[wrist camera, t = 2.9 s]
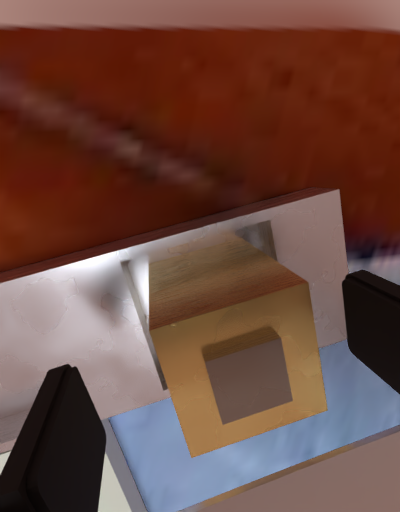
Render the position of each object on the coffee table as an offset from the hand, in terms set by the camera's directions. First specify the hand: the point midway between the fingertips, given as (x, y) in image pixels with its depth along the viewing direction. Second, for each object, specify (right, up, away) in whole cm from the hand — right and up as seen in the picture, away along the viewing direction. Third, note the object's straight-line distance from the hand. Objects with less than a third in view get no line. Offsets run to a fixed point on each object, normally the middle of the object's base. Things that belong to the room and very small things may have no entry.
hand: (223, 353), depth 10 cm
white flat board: (-6, 0, +6) cm, 9 cm away
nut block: (0, +1, +6) cm, 6 cm away
